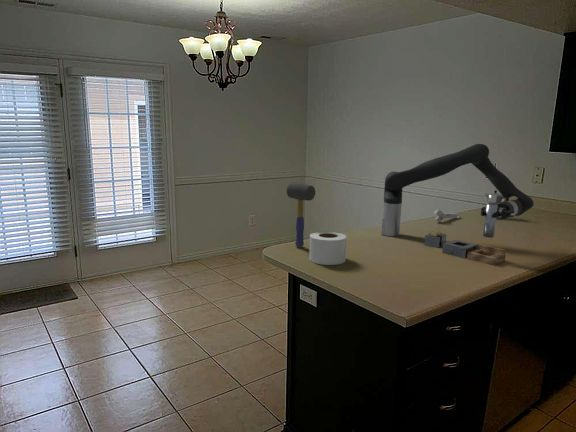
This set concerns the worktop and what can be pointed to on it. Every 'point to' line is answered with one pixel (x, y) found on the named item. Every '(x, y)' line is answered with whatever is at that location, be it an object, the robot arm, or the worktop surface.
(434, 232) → the tan flat block
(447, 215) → the wrench
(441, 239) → the guide
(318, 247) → the white toilet paper roll
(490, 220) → the metal spray bottle
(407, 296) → the worktop surface
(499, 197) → the coffeepot
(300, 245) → the rubber mallet
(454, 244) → the socket block
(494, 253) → the brown hollowed block
